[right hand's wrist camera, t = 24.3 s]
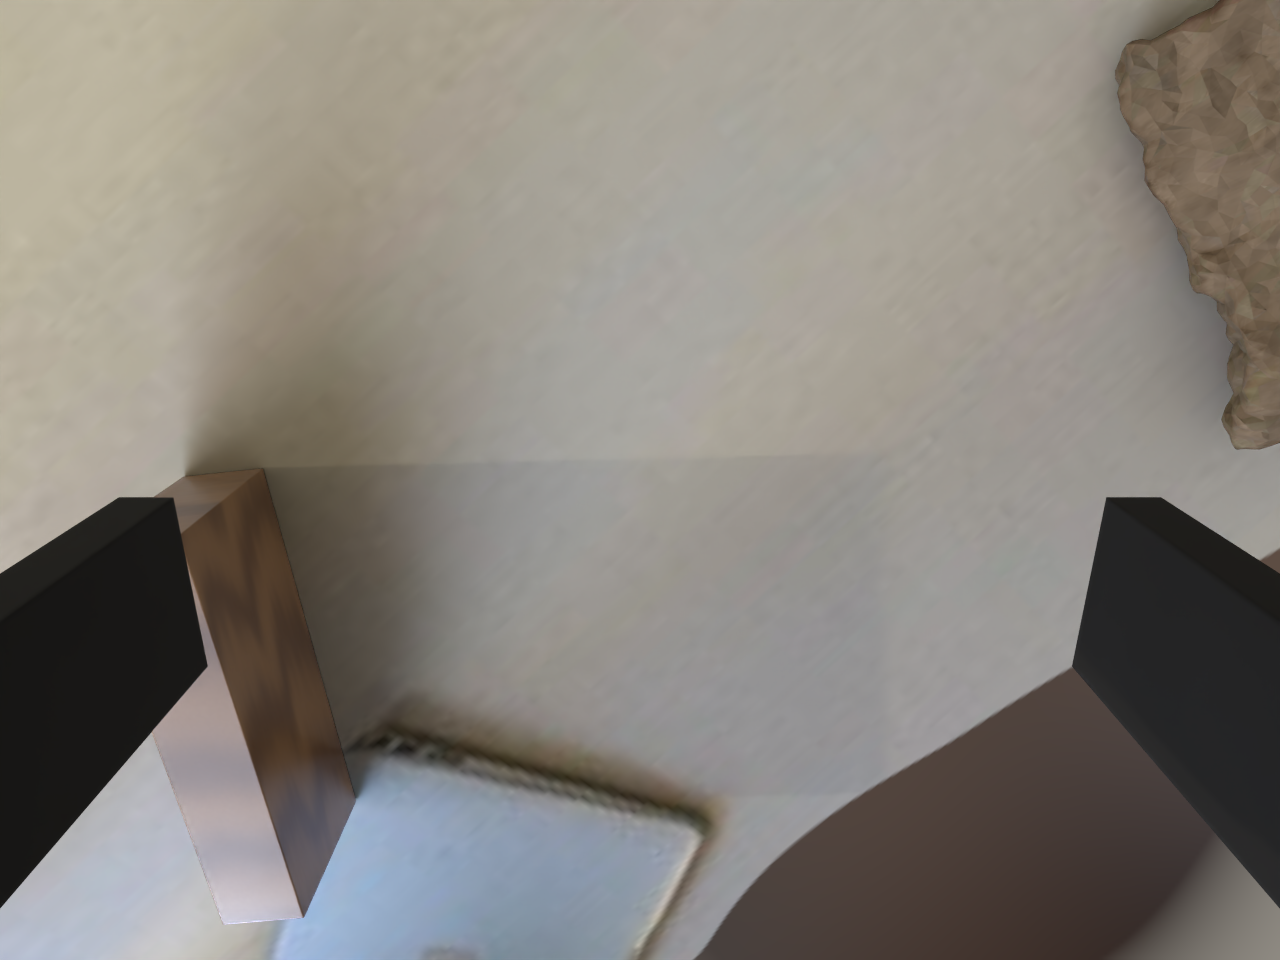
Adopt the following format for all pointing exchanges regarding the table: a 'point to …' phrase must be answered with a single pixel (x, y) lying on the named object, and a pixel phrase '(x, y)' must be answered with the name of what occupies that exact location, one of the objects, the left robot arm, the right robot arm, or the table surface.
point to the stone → (1221, 181)
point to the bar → (252, 711)
